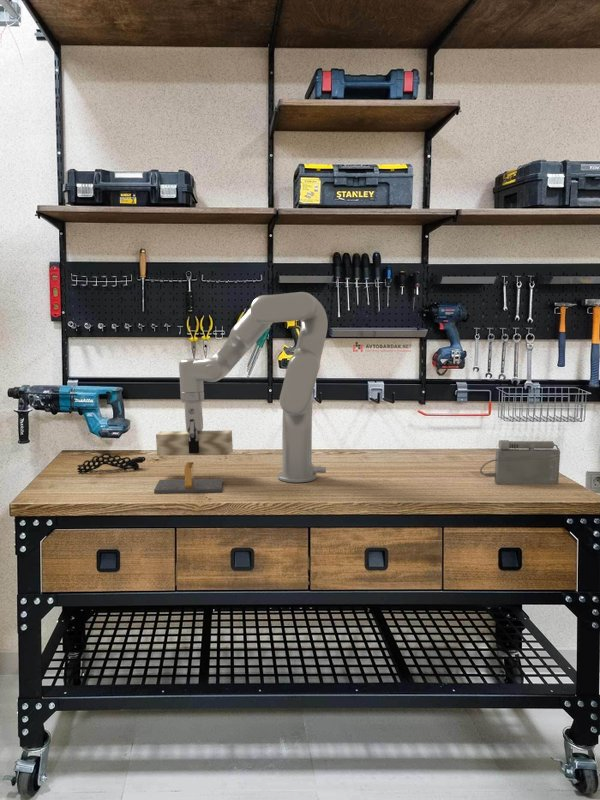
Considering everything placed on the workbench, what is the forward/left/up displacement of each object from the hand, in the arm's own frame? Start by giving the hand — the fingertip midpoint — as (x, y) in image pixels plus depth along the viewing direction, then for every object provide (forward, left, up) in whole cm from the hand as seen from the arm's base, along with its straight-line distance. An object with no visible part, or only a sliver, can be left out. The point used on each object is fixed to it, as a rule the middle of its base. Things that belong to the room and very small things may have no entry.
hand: (194, 450), depth 223 cm
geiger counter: (-103, +16, -9) cm, 105 cm away
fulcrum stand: (+1, +14, -9) cm, 16 cm away
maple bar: (0, 0, -1) cm, 1 cm away
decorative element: (+29, -10, -9) cm, 32 cm away
